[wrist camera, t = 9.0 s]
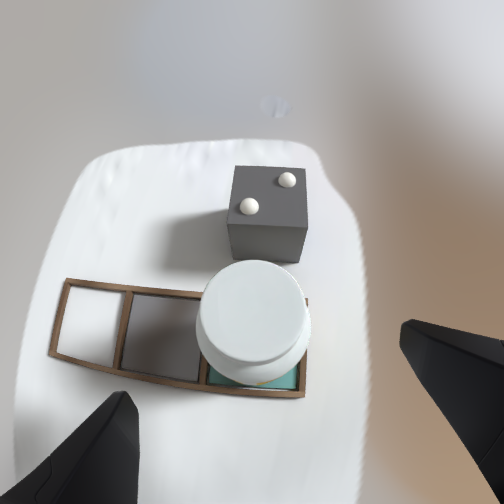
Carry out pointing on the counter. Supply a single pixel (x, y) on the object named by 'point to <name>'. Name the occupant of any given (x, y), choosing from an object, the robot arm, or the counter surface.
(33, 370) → the counter surface
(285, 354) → the supplement bottle
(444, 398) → the robot arm
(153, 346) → the board
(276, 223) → the die
